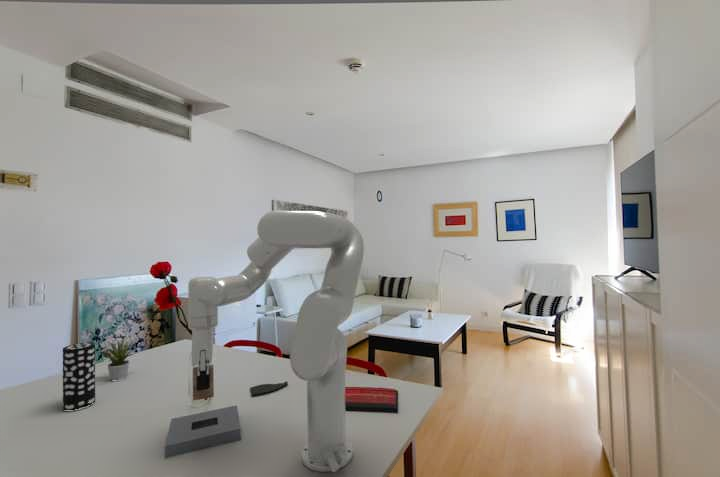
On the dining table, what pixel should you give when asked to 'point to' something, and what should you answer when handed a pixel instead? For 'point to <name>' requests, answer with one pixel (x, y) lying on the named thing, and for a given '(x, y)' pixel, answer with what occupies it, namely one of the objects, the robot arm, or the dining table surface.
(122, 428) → the dining table surface
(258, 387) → the curved wedge
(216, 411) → the socket plate
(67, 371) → the spotted tube
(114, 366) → the house plant
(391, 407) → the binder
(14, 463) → the dining table surface
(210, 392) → the keyed peg
